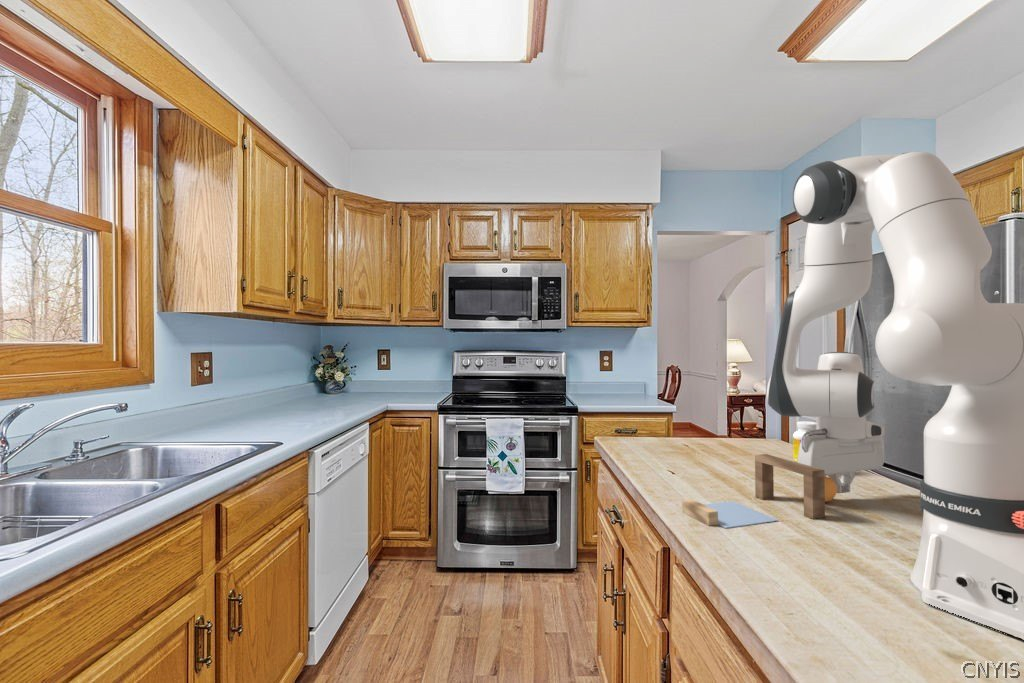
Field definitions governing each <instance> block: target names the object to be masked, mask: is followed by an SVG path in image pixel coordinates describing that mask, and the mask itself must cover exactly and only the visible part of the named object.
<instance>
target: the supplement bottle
mask: <svg viewBox="0 0 1024 683" xmlns="http://www.w3.org/2000/svg"><path fill="white" fill-rule="evenodd" d="M796 427H797V430H796V431H794V433H793V434H792V461H794V462H797V463H798V455H799V447H800V443H801V438H802V436H803V435H804V434H805V433H806V431H808V430H817V423H816V421H815V422H814V421H808V420H806V421H803V420H800V421H797V422H796Z"/></svg>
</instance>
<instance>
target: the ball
mask: <svg viewBox="0 0 1024 683" xmlns="http://www.w3.org/2000/svg"><path fill="white" fill-rule="evenodd" d="M836 495H837V493H836V486H835V484H834V482H833V481H832V480H831V479H830V478H829V477H828V476H827V475H825V503H827V502H830V501H831V500H834V498H835V496H836Z"/></svg>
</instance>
